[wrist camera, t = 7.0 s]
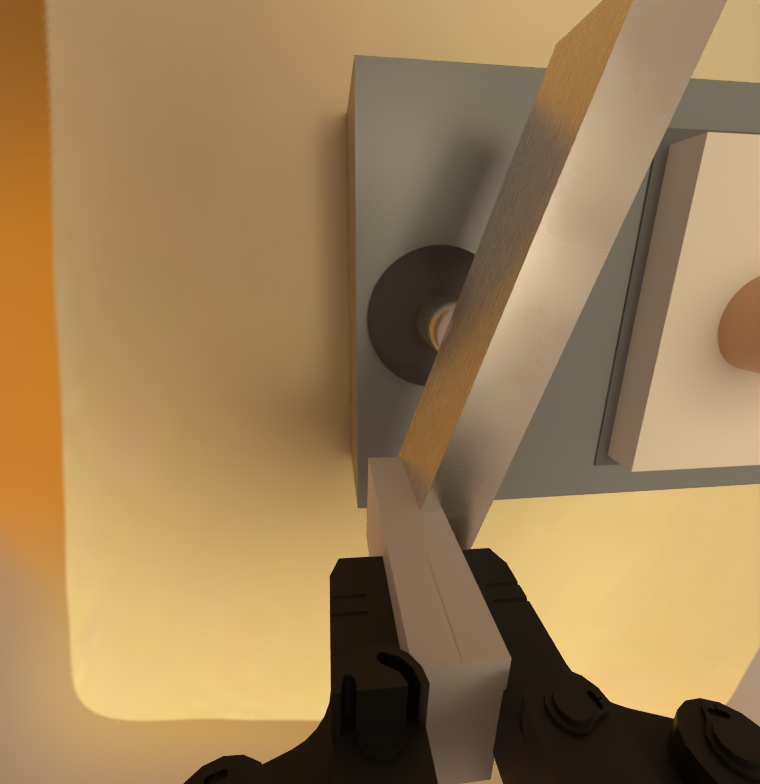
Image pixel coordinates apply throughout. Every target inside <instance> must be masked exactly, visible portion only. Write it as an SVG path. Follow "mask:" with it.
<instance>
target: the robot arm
mask: <svg viewBox="0 0 760 784" xmlns="http://www.w3.org/2000/svg"><path fill="white" fill-rule="evenodd" d="M367 542H368V549H369V556H370V557H358V558H342V559H339V560H338V561H337V563H336V565H335V567H334V569H333V571H332V573H331V575H330V651H331V694H330V702H329V705H328V708H327V711H326V714H325V716H324V718H323V719H322V721H321V723H320V724H319V726H318V728H317V729H316V730H315V731H314V732H313V733H312V734H311V735H310V736H309V737H308V738H307V739H306V740H305V741H304V742H302V743H301V744H300V745H298V746H296V747H295V748H293V749H292V750H290V751H288V752H286V753H284V754H282V755H280V756H278V757H276V758H274V759H272V760H271V761H269V762H267V763H265V764H263V765H262V764H261V762H259V761H257V760H254V759H252V758H250V757H247V756H245V755H234V756H223V757H221V758H219V759H217V760H215V761H212V762H210V763H208V764H206V765H204V766H202V767H201V768H200V769H199V770H198V771H197V772H196V773H194V774H193V775H192V776H191V777H190V778H189V779H188V780H187V781H186V782H185V783H184V784H460V783H467V782H474V781H482V780H489V779H491V773H492V768H493V762H494V758H495V761H496V764H497V767H498V770H499V772H500V776H501V779H502V782H503V784H760V727H759V726H758V725H757V724H755V723H754V722H753V721H751V720H750V719H748V718H747V717H746V716H744V715H743V714H742V713H740V712H738V711H735V710H733V709H732V708H730V707H727V706H725V705H723V704H721V703H719V702H715V701H710V700H706V699H701V698H698V699H692V700H686V701H685V702H684V703H683V704H682V705H681V706H680V707H679V708H678V710H677V712H676V715H675V718H674V719H672V718H668V717H664V716H659V715H655V714H651V713H647V712H642V711H638V710H634V709H629V708H626V707H623V706H620V705H617V704H614V703H612V702H610V701H609V700H608V699H607V698H606V697H605V695H604V694H603V693H602V692H601V691H600V689H599V688H598V687H596V686H595V685H594V684H592V683H591V682H590V681H588V680H587V679H586V678H584V677H583V676H581V675H579V674H577V673H574V672H572V671H571V670H570V668H569V667H568V666H567V664H566V663H565V661H564V659H563V658H562V656H561V654H560V653H559V651H558V649H557V648H556V646H555V644H554V642H553V641H552V639H551V637H550V636H549V634H548V632H547V631H546V629H545V627H544V626H543V624H542V622H541V620H540V619H539V617H538V615H537V614H536V612H535V610H534V609H533V607H532V605H531V604H530V602H529V601H527V597H526V595H525V593H524V592H523V590H522V588H521V587H520V585H518V583H517V580H516V578H515V577H514V575H513V573H512V571H511V570H510V568H509V566H508V565H507V563H506V562H505V561H503V560H502V559H501V558H500V557H499V556H498V555H496V554H495V553H494V552H493V551H492V550H491V549H489V548H483V549H467V550H461V548H460V546H459V544H458V542H457V540H456V538H455V535H454V533H453V531H452V529H451V527H450V525H449V522H448V520H447V518H446V516H445V514H444V512H443V510H442V511H420V509H419V507H418V504H417V501H416V498H415V496H414V493H413V490H412V487H411V485H410V482H409V479H408V476H407V474H406V471H405V468H404V465H403V463H402V460H401V457H383V458H368V496H367Z"/></svg>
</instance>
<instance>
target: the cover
mask: <svg viewBox="0 0 760 784" xmlns="http://www.w3.org/2000/svg"><path fill="white" fill-rule="evenodd" d="M608 456H610V457H611V458H612V459H614V460H615V461H617V462H618V463H619V464H621V465H622V466H624V467H625V468H627V469H628V470H629V471H631V472H638V471H657V470H675V469H693V468H711V467H729V466H748V465H760V135H756V134H737V133H718V132H706V133H703V134H700V135H697V136H694V137H691V138H688V139H686V140H683V141H680V142H677V143H674V144H671V145H670V148H669V153H668V158H667V162H666V167H665V172H664V177H663V182H662V187H661V192H660V197H659V202H658V207H657V212H656V217H655V222H654V227H653V232H652V237H651V242H650V247H649V252H648V257H647V262H646V267H645V272H644V277H643V282H642V287H641V291H640V296H639V301H638V306H637V311H636V316H635V321H634V326H633V331H632V336H631V341H630V346H629V351H628V356H627V361H626V366H625V371H624V376H623V381H622V386H621V391H620V396H619V401H618V406H617V411H616V415H615V420H614V425H613V430H612V435H611V440H610V445H609V450H608Z"/></svg>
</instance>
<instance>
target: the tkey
mask: <svg viewBox="0 0 760 784" xmlns="http://www.w3.org/2000/svg"><path fill="white" fill-rule="evenodd" d="M726 1H727V0H603V1H602V2H600V3H599V4H598V5H597V6H596V7H595V8H594V9H593V10H592V11H591V12H590V13H589V14H588V15H587V16H586V17H585V18H584V19H582V20H581V21H580V22H579V23H578V24H577V25H576V26H575V27H574V28H573V29H572V30H571V31H570V32H569V33H568V34H567V35H566V36H564V37H563V38H562V39H561V40H560V41H559V42H558V43H557V44H556V46H555V49H554V51H553V54H552V56H551V59H550V62H549V64H548V67H547V70H546V72H545V75H544V77H543V80H542V83H541V85H540V88H539V90H538V93H537V96H536V98H535V101H534V103H533V106H532V109H531V111H530V114H529V116H528V119H527V122H526V124H525V127H524V129H523V132H522V135H521V137H520V140H519V142H518V145H517V148H516V150H515V153H514V155H513V158H512V161H511V163H510V166H509V168H508V171H507V174H506V176H505V179H504V181H503V184H502V187H501V189H500V192H499V195H498V197H497V200H496V202H495V205H494V208H493V210H492V213H491V215H490V218H489V221H488V223H487V226H486V228H485V231H484V234H483V236H482V239H481V241H480V244H479V247H478V249H477V252H476V254H475V257H474V260H473V262H472V265H471V267H470V270H469V273H468V275H467V278H466V280H465V283H464V286H463V288H462V291H461V293H460V296H459V299H456V298H452V297H449V296H445V295H438V296H434V297H431V298H429V299H428V300H426V301H425V302H424V303H423V304H422V305H421V307H420V308H419V310H418V312H417V315H416V328H417V331H418V333H419V335H420V336H421V338H422V339H423V340H425V341H426V342H427V343H428V344H429V345H431V346H432V347H433V348H434V349H435V350H437V351H438V353H437V356H436V359H435V361H434V364H433V366H432V369H431V372H430V374H429V377H428V379H427V382H426V385H425V387H424V390H423V392H422V395H421V398H420V400H419V403H418V405H417V408H416V411H415V413H414V416H413V418H412V421H411V424H410V426H409V429H408V431H407V434H406V437H405V439H404V442H403V444H402V447H401V450H400V452H399V455H398V457H401V460H402V463H403V465H404V468H405V471H406V474H407V476H408V479H409V482H410V485H411V487H412V490H413V493H414V496H415V498H416V501H417V504H418V507H419V509H420V511H442V510H443V512H444V514H445V516H446V518H447V520H448V522H449V525H450V527H451V529H452V531H453V533H454V535H455V538H456V540H457V542H458V544H459V546H460V548H461V550H467V549H471V547H472V545H473V542H474V540H475V538H476V536H477V534H478V532H479V530H480V527H481V525H482V523H483V521H484V519H485V517H486V515H487V513H488V510H489V508H490V506H491V504H492V502H493V500H494V498H495V495H496V493H497V491H498V489H499V487H500V485H501V483H502V480H503V478H504V476H505V474H506V472H507V470H508V468H509V465H510V463H511V461H512V459H513V457H514V455H515V453H516V450H517V448H518V446H519V444H520V442H521V440H522V438H523V436H524V433H525V431H526V429H527V427H528V425H529V423H530V421H531V418H532V416H533V414H534V412H535V410H536V408H537V406H538V403H539V401H540V399H541V397H542V395H543V393H544V391H545V388H546V386H547V384H548V382H549V380H550V378H551V376H552V373H553V371H554V369H555V367H556V365H557V363H558V361H559V358H560V356H561V354H562V352H563V350H564V348H565V346H566V344H567V341H568V339H569V337H570V335H571V333H572V331H573V329H574V326H575V324H576V322H577V320H578V318H579V316H580V314H581V311H582V309H583V307H584V305H585V303H586V301H587V299H588V296H589V294H590V292H591V290H592V288H593V286H594V284H595V281H596V279H597V277H598V275H599V273H600V271H601V269H602V267H603V264H604V262H605V260H606V258H607V256H608V254H609V252H610V249H611V247H612V245H613V243H614V241H615V239H616V237H617V234H618V232H619V230H620V228H621V226H622V224H623V222H624V219H625V217H626V215H627V213H628V211H629V209H630V207H631V204H632V202H633V200H634V198H635V196H636V194H637V192H638V190H639V187H640V185H641V183H642V181H643V179H644V177H645V175H646V172H647V170H648V168H649V166H650V164H651V162H652V160H653V157H654V155H655V153H656V151H657V149H658V147H659V145H660V142H661V140H662V138H663V136H664V134H665V132H666V130H667V127H668V125H669V123H670V121H671V119H672V117H673V115H674V112H675V110H676V108H677V106H678V104H679V102H680V100H681V98H682V95H683V93H684V91H685V89H686V87H687V85H688V83H689V80H690V78H691V76H692V74H693V72H694V70H695V68H696V65H697V63H698V61H699V59H700V57H701V55H702V53H703V50H704V48H705V46H706V44H707V42H708V40H709V38H710V35H711V33H712V31H713V29H714V27H715V25H716V23H717V21H718V18H719V16H720V14H721V12H722V10H723V8H724V6H725V3H726Z"/></svg>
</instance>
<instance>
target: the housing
mask: <svg viewBox="0 0 760 784" xmlns="http://www.w3.org/2000/svg"><path fill="white" fill-rule="evenodd" d="M546 70H547V68H533V67H518V66H504V65H489V64H475V63H460V62H446V61H432V60H417V59H403V58H388V57H374V56H359V55H354V62H353V70H352V78H351V86H350V93H349V101H348V109H347V135H348V213H349V291H350V368H351V446H352V462H353V471H354V479H355V488H356V496H357V504H358V508H367V496H368V458H383V457H398V455H399V452H400V450H401V447H402V444H403V442H404V439H405V437H406V434H407V431H408V429H409V426H410V424H411V421H412V418H413V416H414V413H415V411H416V408H417V405H418V403H419V400H420V398H421V395H422V392H423V390H424V387H425V385H426V382H427V379H428V377H429V374H430V372H431V369H432V366H433V364H434V361H435V359H436V356H437V353H438V351H437V350H435V349H434V348H433V347H432V346H431V345H429V344H428V343H427V342H426V341H425V340H423V339H422V338H421V336H420V335H419V333H418V331H417V328H416V315H417V312H418V310H419V308H420V307H421V305H422V304H423V303H424V302H425V301H426V300H428V299H429V298H431V297H434V296H438V295H445V296H449V297H452V298H456V299H459V296H460V293H461V291H462V288H463V286H464V283H465V280H466V278H467V275H468V273H469V270H470V267H471V265H472V262H473V260H474V257H475V254H476V252H477V249H478V247H479V244H480V241H481V239H482V236H483V234H484V231H485V228H486V226H487V223H488V221H489V218H490V215H491V213H492V210H493V208H494V205H495V202H496V200H497V197H498V195H499V192H500V189H501V187H502V184H503V181H504V179H505V176H506V174H507V171H508V168H509V166H510V163H511V161H512V158H513V155H514V153H515V150H516V148H517V145H518V142H519V140H520V137H521V135H522V132H523V129H524V127H525V124H526V122H527V119H528V116H529V114H530V111H531V109H532V106H533V103H534V101H535V98H536V96H537V93H538V90H539V88H540V85H541V83H542V80H543V77H544V75H545V72H546ZM706 132H718V133H737V134H756V135H760V83H749V82H735V81H720V80H706V79H692V78H690V80H689V83H688V85H687V87H686V89H685V91H684V93H683V95H682V98H681V100H680V102H679V104H678V106H677V108H676V110H675V112H674V115H673V117H672V119H671V121H670V123H669V125H668V127H667V130H666V132H665V134H664V136H663V138H662V140H661V142H660V145H659V147H658V149H657V151H656V153H655V155H654V157H653V160H652V162H651V164H650V166H649V168H648V170H647V172H646V175H645V177H644V179H643V181H642V183H641V185H640V187H639V190H638V192H637V194H636V196H635V198H634V200H633V202H632V204H631V207H630V209H629V211H628V213H627V215H626V217H625V219H624V222H623V224H622V226H621V228H620V230H619V232H618V234H617V237H616V239H615V241H614V243H613V245H612V247H611V249H610V252H609V254H608V256H607V258H606V260H605V262H604V264H603V267H602V269H601V271H600V273H599V275H598V277H597V279H596V281H595V284H594V286H593V288H592V290H591V292H590V294H589V296H588V299H587V301H586V303H585V305H584V307H583V309H582V311H581V314H580V316H579V318H578V320H577V322H576V324H575V326H574V329H573V331H572V333H571V335H570V337H569V339H568V341H567V344H566V346H565V348H564V350H563V352H562V354H561V356H560V358H559V361H558V363H557V365H556V367H555V369H554V371H553V373H552V376H551V378H550V380H549V382H548V384H547V386H546V388H545V391H544V393H543V395H542V397H541V399H540V401H539V403H538V406H537V408H536V410H535V412H534V414H533V416H532V418H531V421H530V423H529V425H528V427H527V429H526V431H525V433H524V436H523V438H522V440H521V442H520V444H519V446H518V448H517V450H516V453H515V455H514V457H513V459H512V461H511V463H510V465H509V468H508V470H507V472H506V474H505V476H504V478H503V480H502V483H501V485H500V487H499V489H498V491H497V493H496V495H495V498H494V500H502V499H518V498H534V497H551V496H567V495H583V494H600V493H616V492H633V491H649V490H665V489H682V488H698V487H714V486H731V485H747V484H760V465H748V466H729V467H711V468H693V469H675V470H657V471H638V472H631V471H629V470H628V469H627V468H625V467H624V466H622V465H621V464H619V463H618V462H617V461H615V460H614V459H612V458H611V457H610V456H608V450H609V445H610V440H611V435H612V430H613V425H614V420H615V415H616V411H617V406H618V401H619V396H620V391H621V386H622V381H623V376H624V371H625V366H626V361H627V356H628V351H629V346H630V341H631V336H632V331H633V326H634V321H635V316H636V311H637V306H638V301H639V296H640V291H641V287H642V282H643V277H644V272H645V267H646V262H647V257H648V252H649V247H650V242H651V237H652V232H653V227H654V222H655V217H656V212H657V207H658V202H659V197H660V192H661V187H662V182H663V177H664V172H665V167H666V162H667V158H668V153H669V148H670V145H671V144H674V143H677V142H680V141H683V140H686V139H688V138H691V137H694V136H697V135H700V134H703V133H706Z"/></svg>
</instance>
